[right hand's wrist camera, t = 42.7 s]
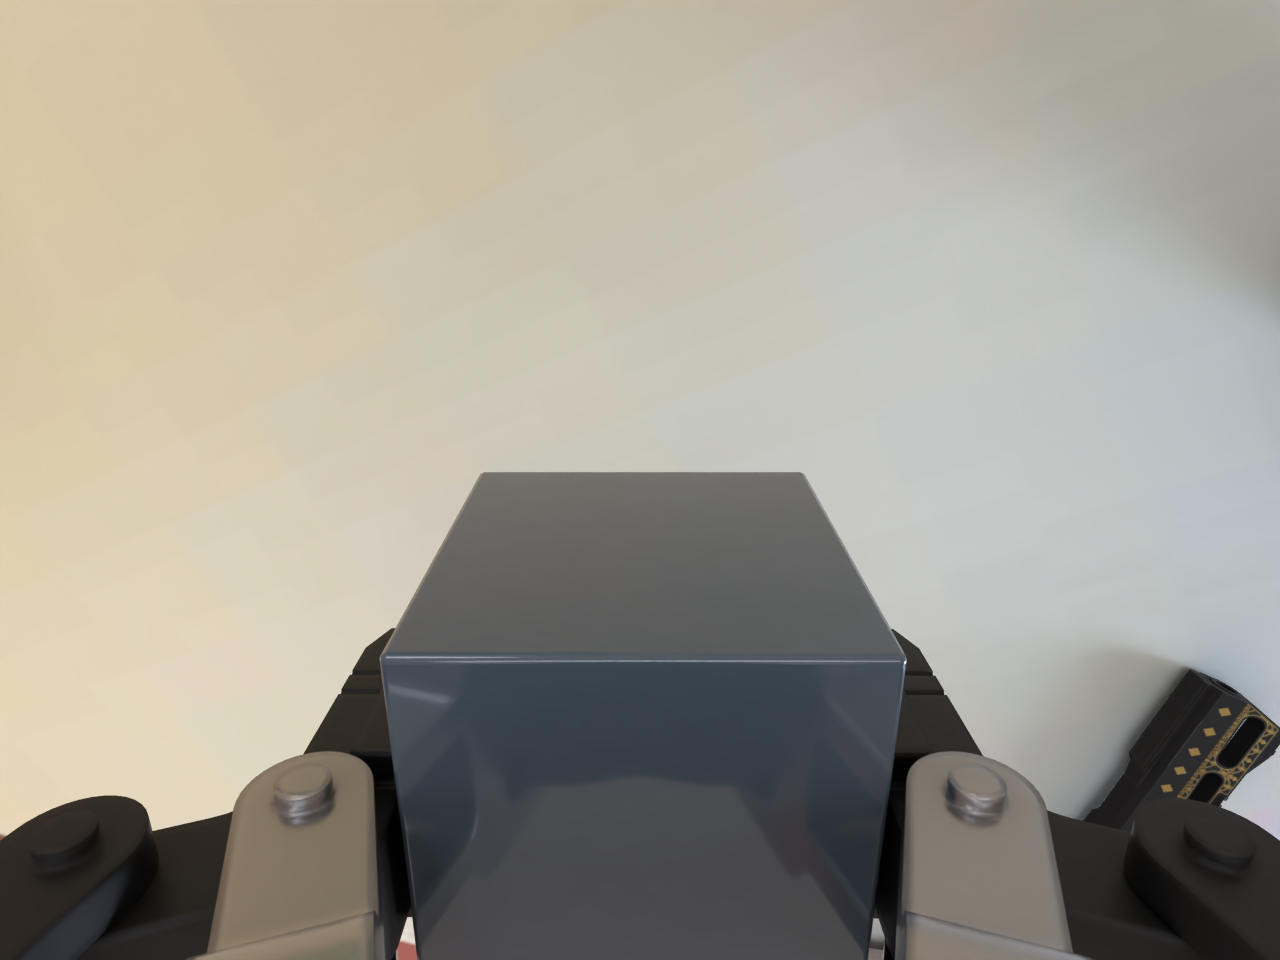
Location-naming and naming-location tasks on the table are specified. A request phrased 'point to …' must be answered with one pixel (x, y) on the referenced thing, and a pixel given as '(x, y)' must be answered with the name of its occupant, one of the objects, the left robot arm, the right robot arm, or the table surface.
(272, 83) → the table surface
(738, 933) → the block
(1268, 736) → the decorative firearm
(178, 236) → the table surface
